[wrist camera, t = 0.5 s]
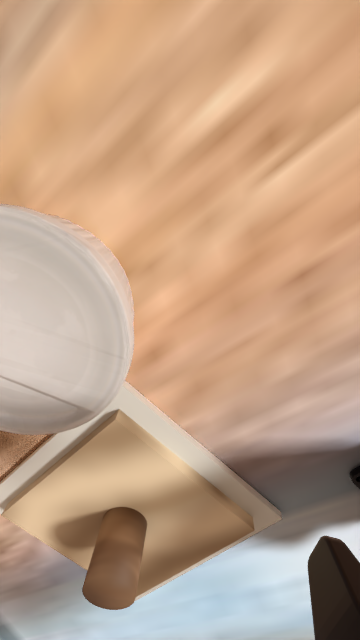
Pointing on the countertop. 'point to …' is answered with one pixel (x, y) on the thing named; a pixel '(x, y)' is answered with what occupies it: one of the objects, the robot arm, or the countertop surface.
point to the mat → (169, 437)
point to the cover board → (130, 485)
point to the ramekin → (59, 323)
